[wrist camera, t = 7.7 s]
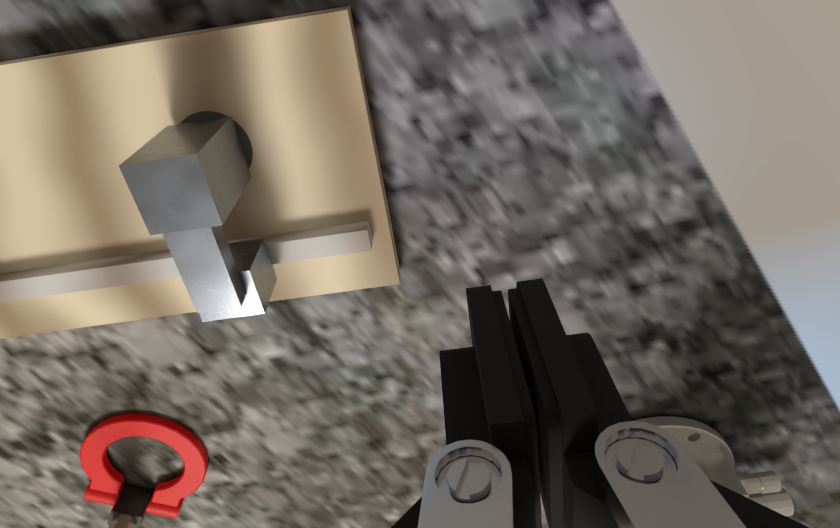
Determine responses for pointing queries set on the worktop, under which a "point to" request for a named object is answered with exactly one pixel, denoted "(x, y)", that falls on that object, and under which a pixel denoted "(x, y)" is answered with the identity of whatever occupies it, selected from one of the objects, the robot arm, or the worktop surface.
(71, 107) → the bolt plate
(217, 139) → the leg
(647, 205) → the worktop surface
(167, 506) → the tow hook
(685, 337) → the worktop surface
